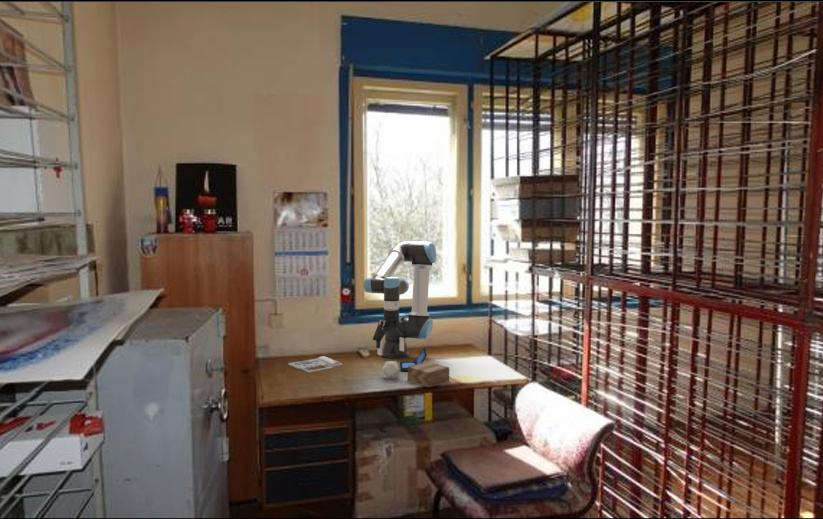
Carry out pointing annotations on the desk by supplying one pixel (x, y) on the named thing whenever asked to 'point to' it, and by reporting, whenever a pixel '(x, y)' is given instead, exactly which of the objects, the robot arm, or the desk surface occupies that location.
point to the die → (391, 369)
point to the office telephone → (315, 364)
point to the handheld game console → (419, 360)
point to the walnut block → (428, 374)
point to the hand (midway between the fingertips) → (390, 352)
